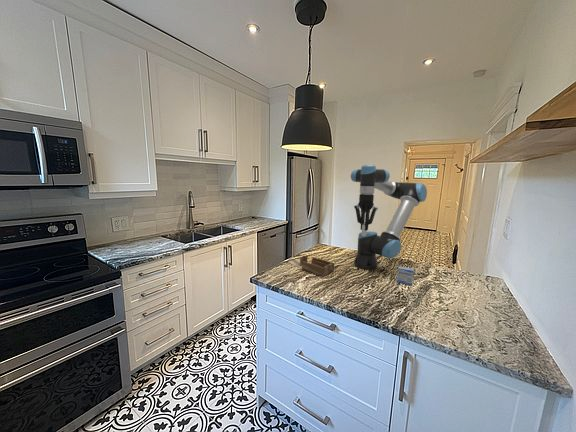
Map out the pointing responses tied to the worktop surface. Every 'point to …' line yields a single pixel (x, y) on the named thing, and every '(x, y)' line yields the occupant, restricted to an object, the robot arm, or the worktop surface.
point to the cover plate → (299, 261)
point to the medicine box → (405, 275)
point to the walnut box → (318, 267)
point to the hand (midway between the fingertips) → (363, 235)
